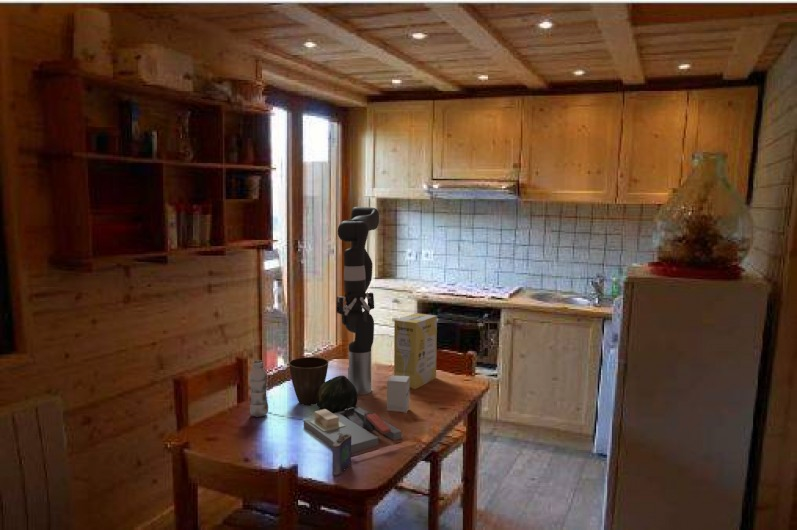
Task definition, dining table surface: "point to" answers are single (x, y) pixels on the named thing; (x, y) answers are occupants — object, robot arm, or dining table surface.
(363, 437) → the pocket board
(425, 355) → the pasta box
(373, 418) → the tip lever
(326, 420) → the slab
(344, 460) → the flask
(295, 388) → the plant pot
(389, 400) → the supplement box
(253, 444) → the dining table surface
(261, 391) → the plastic bottle
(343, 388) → the squash
